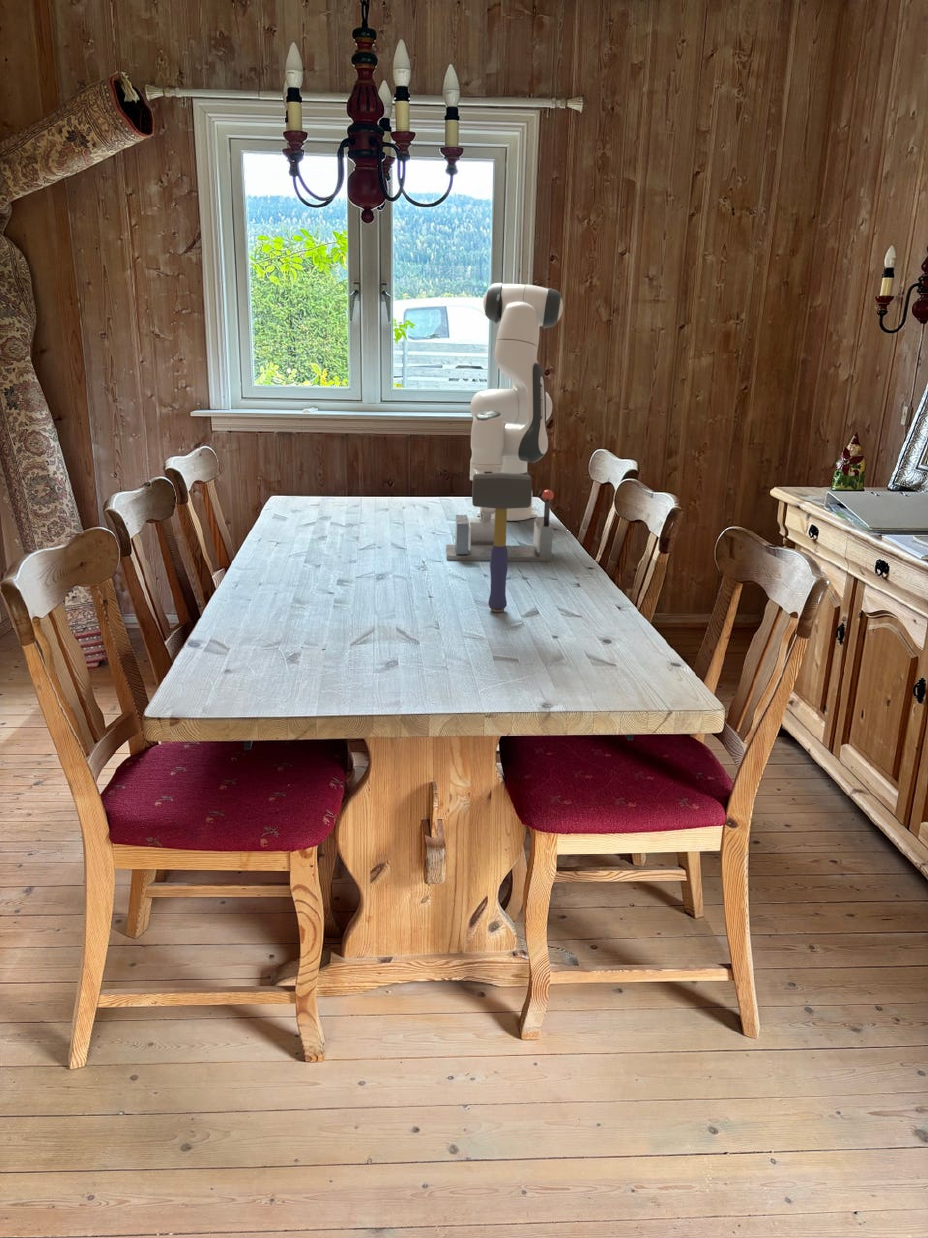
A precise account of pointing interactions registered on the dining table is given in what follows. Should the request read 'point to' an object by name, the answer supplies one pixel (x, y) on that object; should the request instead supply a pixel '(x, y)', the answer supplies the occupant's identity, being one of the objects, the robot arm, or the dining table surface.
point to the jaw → (462, 534)
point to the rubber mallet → (500, 521)
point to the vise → (517, 553)
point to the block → (481, 532)
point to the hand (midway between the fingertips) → (485, 524)
